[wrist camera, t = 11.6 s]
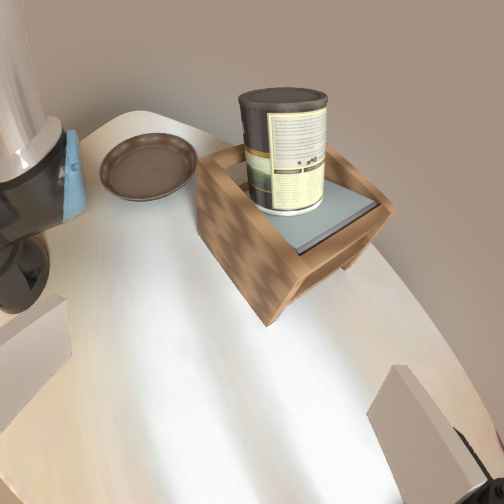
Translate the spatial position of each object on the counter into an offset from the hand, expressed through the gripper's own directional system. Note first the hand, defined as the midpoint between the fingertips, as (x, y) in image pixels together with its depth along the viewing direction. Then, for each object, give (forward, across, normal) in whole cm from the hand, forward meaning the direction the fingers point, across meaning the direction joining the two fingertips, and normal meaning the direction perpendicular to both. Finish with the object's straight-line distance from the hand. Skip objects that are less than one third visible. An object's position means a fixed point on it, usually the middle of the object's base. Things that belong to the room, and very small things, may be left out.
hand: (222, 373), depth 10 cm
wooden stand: (+39, +6, -3) cm, 40 cm away
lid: (+30, +6, +6) cm, 31 cm away
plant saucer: (+49, -22, +6) cm, 54 cm away
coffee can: (+31, +4, +6) cm, 32 cm away
